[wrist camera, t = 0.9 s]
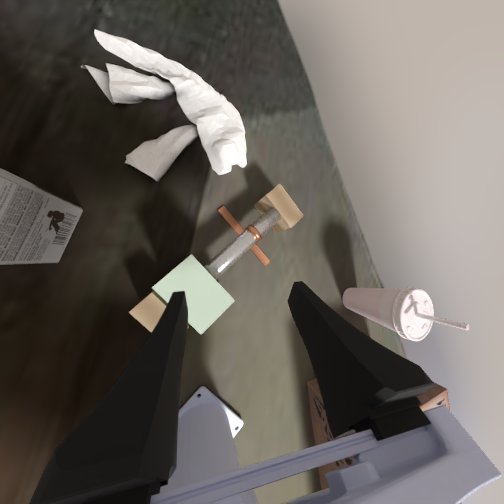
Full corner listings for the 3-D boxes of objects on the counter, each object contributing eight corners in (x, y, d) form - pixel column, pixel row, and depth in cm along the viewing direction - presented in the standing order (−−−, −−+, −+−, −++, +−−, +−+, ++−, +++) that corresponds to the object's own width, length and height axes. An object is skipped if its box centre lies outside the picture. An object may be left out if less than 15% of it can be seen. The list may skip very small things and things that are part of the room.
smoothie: (338, 277, 30) (454, 291, 17) (366, 282, 32) (489, 298, 19) (333, 315, 30) (449, 361, 17) (362, 318, 32) (486, 361, 19)
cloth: (264, 173, 27) (271, 165, 25) (102, 228, 20) (91, 224, 18) (205, 31, 25) (207, 8, 23) (1, 39, 18) (-26, 8, 16)
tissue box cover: (390, 490, 33) (471, 583, 24) (327, 543, 28) (397, 685, 19) (372, 351, 33) (447, 389, 23) (305, 381, 28) (365, 443, 18)
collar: (197, 312, 22) (201, 334, 16) (163, 278, 21) (151, 287, 14) (221, 288, 23) (234, 300, 17) (190, 255, 22) (191, 254, 16)
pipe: (161, 330, 19) (157, 338, 17) (145, 315, 19) (139, 323, 17) (288, 211, 25) (297, 206, 23) (278, 198, 25) (287, 192, 22)
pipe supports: (186, 344, 22) (186, 363, 18) (123, 286, 20) (107, 293, 16) (295, 234, 28) (314, 230, 24) (254, 180, 26) (267, 166, 22)
